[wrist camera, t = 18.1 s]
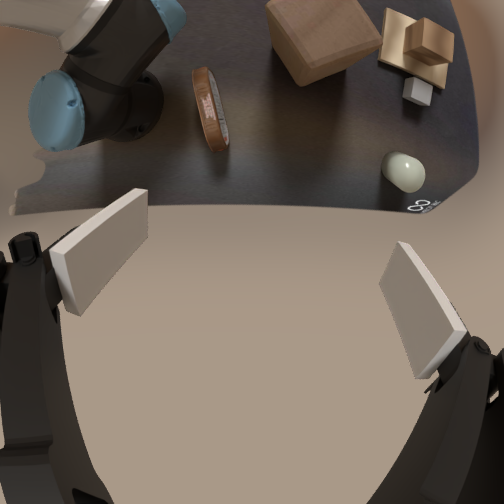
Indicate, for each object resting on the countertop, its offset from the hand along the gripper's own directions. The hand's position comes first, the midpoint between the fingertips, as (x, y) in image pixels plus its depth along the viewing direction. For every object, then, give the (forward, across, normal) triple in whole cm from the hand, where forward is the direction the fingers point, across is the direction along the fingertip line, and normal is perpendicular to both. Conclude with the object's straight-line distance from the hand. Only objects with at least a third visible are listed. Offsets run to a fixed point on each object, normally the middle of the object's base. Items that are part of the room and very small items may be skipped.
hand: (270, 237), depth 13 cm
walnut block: (+35, +21, +27) cm, 49 cm away
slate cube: (+37, +22, +18) cm, 46 cm away
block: (+37, +2, +18) cm, 41 cm away
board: (+37, +21, +27) cm, 50 cm away
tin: (+37, -12, +5) cm, 39 cm away
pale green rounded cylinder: (+37, +22, +2) cm, 43 cm away
